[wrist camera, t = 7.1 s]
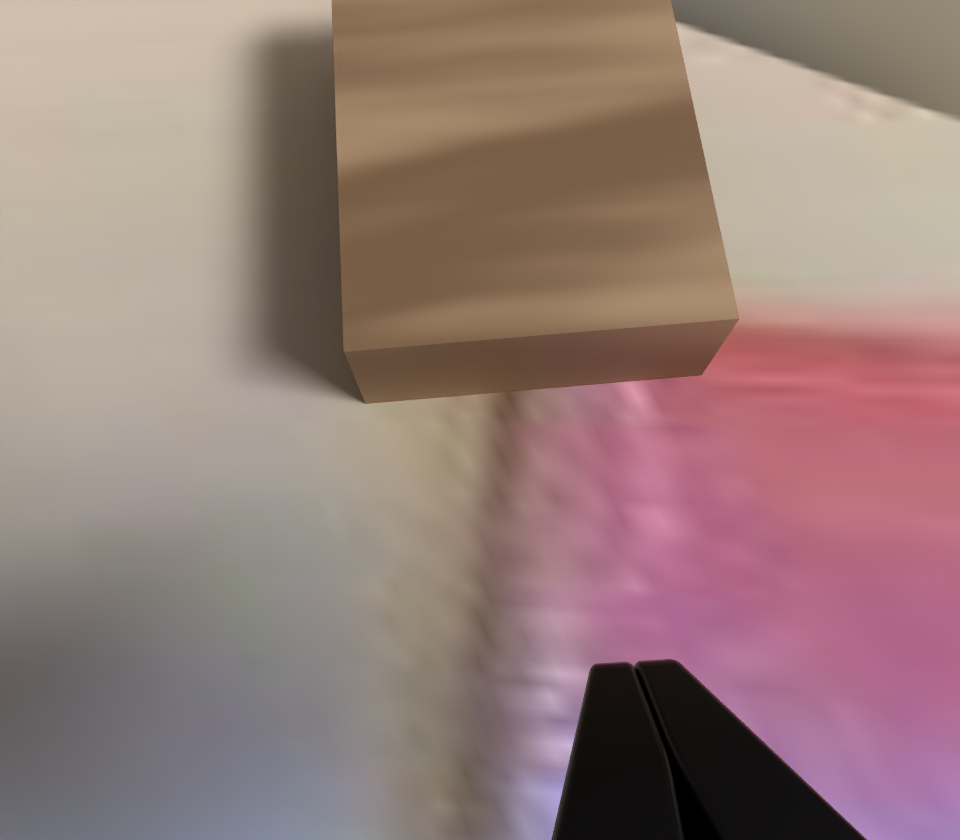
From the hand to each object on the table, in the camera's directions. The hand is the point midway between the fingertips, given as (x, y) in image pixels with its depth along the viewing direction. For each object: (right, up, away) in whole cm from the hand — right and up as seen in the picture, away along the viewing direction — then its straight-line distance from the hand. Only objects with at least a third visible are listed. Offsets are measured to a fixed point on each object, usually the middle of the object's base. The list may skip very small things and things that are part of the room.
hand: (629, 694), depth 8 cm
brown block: (0, +4, +9) cm, 10 cm away
